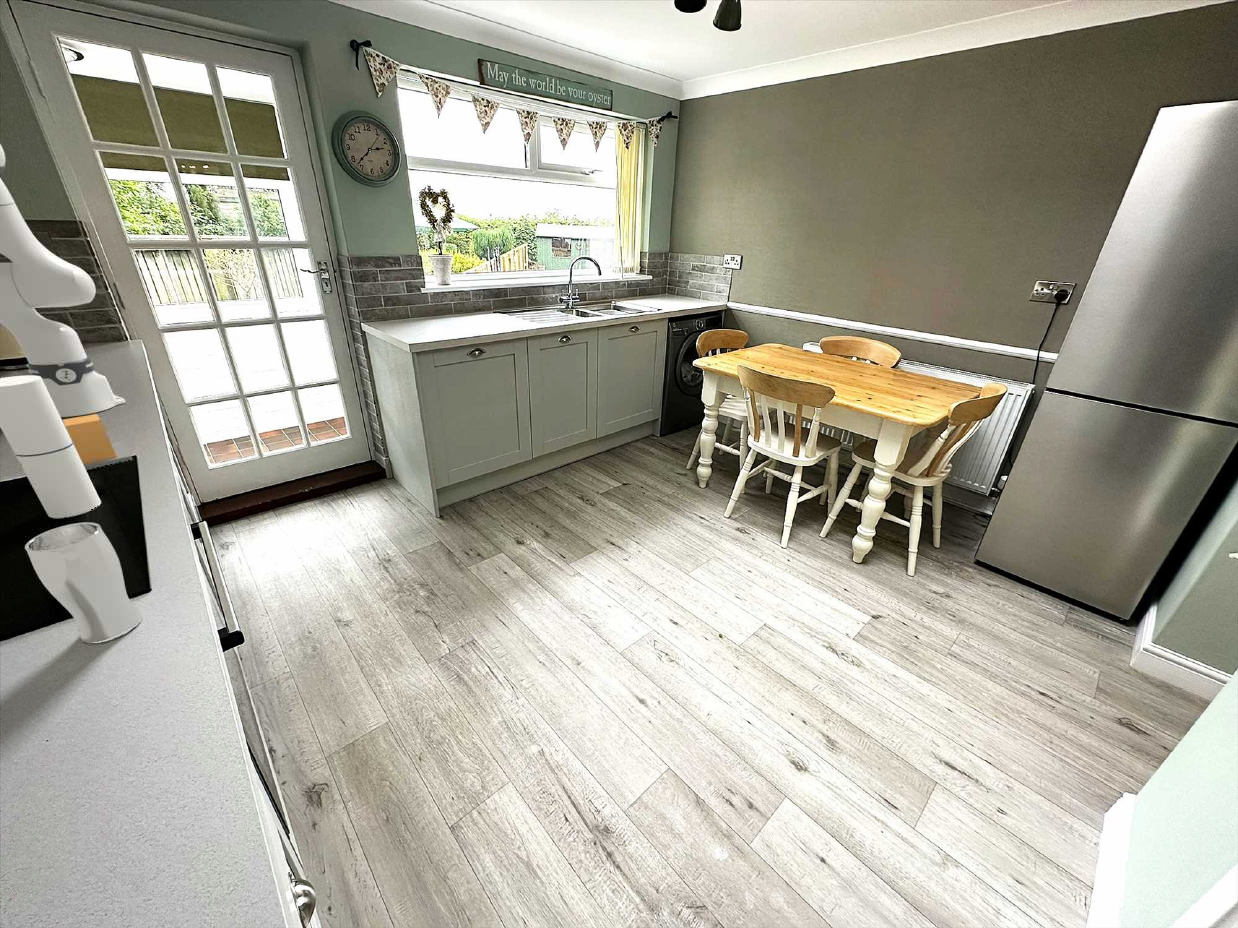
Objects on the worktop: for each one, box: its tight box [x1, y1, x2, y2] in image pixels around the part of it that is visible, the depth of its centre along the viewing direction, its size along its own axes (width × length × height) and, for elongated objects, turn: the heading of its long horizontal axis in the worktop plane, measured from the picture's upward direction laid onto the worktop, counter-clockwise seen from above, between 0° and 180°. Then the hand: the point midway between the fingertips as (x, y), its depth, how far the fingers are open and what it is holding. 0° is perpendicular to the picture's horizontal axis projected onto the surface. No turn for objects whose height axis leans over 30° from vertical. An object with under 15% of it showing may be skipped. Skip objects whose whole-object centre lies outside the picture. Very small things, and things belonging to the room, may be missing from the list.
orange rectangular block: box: [62, 413, 117, 464], centre depth 110 cm, size 5×5×9 cm
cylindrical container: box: [0, 374, 102, 519], centre depth 89 cm, size 7×7×25 cm
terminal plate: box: [77, 441, 134, 471], centre depth 113 cm, size 12×10×1 cm
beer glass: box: [24, 521, 143, 644], centre depth 64 cm, size 7×7×15 cm
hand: (7, 394), depth 101 cm, fingers open, 8 cm apart
